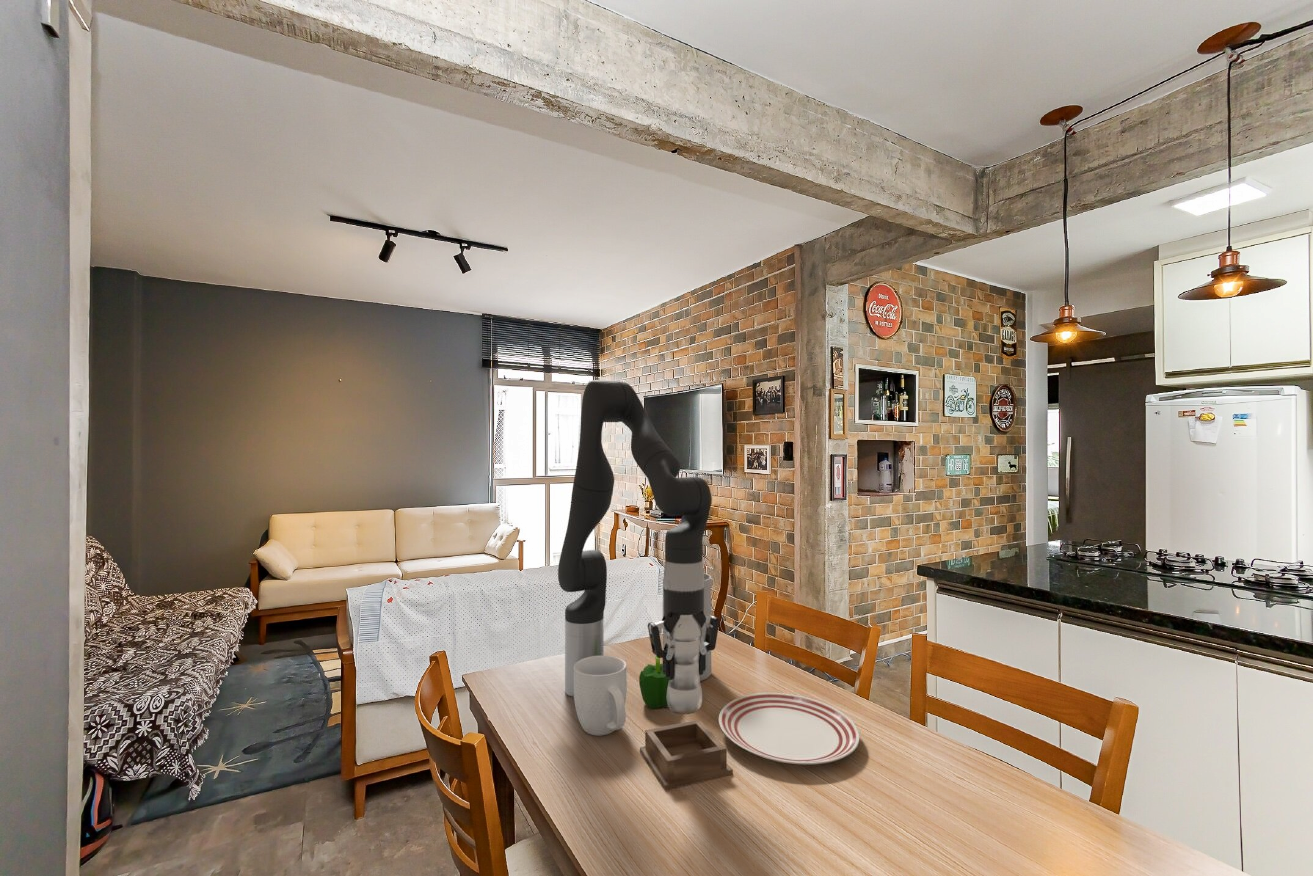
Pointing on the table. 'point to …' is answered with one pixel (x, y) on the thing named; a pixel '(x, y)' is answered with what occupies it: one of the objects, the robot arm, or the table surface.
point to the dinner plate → (789, 728)
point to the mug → (600, 693)
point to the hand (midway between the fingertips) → (684, 675)
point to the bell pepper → (654, 685)
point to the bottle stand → (684, 754)
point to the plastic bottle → (685, 667)
